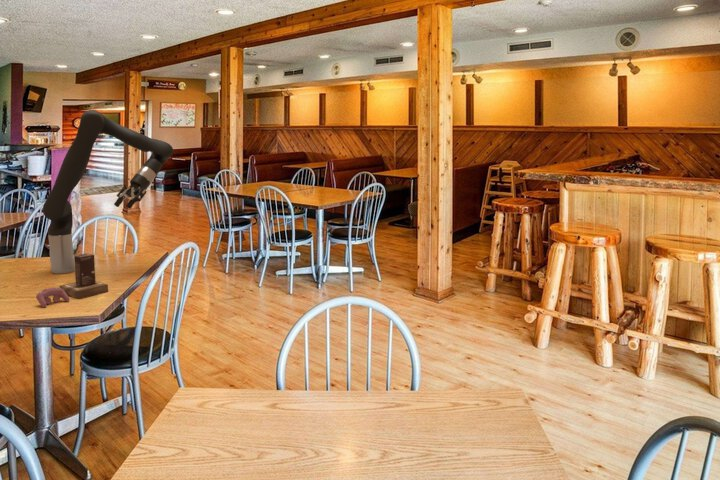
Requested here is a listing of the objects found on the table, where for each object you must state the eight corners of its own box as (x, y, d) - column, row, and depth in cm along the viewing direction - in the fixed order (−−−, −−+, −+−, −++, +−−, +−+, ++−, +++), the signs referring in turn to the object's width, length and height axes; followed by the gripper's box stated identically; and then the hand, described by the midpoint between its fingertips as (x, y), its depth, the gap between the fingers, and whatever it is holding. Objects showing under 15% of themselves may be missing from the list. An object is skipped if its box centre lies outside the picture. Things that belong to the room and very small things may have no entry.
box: (82, 287, 208) (79, 257, 205) (75, 285, 210) (73, 255, 208) (96, 284, 213) (94, 254, 210) (90, 282, 215) (87, 253, 213)
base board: (60, 293, 210) (59, 285, 209) (89, 286, 220) (88, 278, 219) (78, 299, 203) (78, 290, 202) (108, 291, 213) (107, 283, 212)
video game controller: (65, 303, 202) (59, 286, 203) (71, 300, 200) (65, 283, 200) (38, 310, 194) (32, 292, 194) (43, 307, 191) (37, 289, 192)
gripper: (127, 172, 241) (105, 199, 233) (147, 173, 233) (125, 202, 226) (138, 183, 246) (117, 210, 239) (158, 185, 239) (137, 213, 231)
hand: (121, 206), depth 232 cm, fingers open, 8 cm apart
